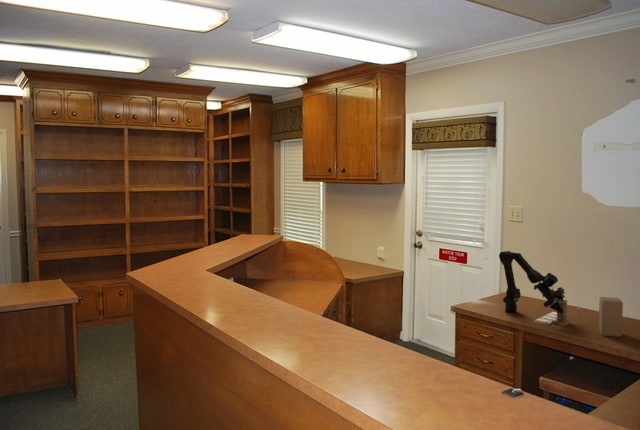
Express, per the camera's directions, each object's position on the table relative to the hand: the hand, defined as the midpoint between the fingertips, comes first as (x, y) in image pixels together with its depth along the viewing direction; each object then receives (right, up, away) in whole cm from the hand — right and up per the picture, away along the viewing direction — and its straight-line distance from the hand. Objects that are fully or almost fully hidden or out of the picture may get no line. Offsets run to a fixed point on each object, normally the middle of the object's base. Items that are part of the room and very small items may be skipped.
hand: (564, 312), depth 308 cm
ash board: (-3, -6, +11) cm, 13 cm away
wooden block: (+16, -9, -19) cm, 27 cm away
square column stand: (-1, -7, +2) cm, 7 cm away
